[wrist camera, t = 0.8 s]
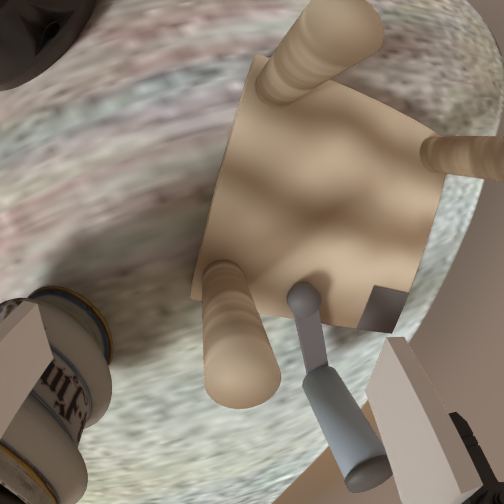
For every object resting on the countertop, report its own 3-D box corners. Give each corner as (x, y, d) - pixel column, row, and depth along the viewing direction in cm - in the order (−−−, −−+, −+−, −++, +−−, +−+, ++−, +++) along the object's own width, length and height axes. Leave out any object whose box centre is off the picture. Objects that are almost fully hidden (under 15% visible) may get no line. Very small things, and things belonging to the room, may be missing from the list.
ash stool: (251, 64, 21) (307, -35, 8) (435, 142, 25) (558, 148, 12) (190, 286, 25) (184, 410, 12) (378, 321, 29) (467, 408, 16)
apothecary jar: (85, 405, 27) (41, 550, 10) (-3, 330, 23) (-99, 444, 6) (151, 339, 26) (116, 531, 9) (47, 245, 22) (-107, 358, 5)
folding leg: (276, 289, 23) (338, 394, 12) (320, 276, 23) (407, 364, 12) (302, 394, 26) (348, 498, 15) (337, 382, 27) (395, 478, 15)
